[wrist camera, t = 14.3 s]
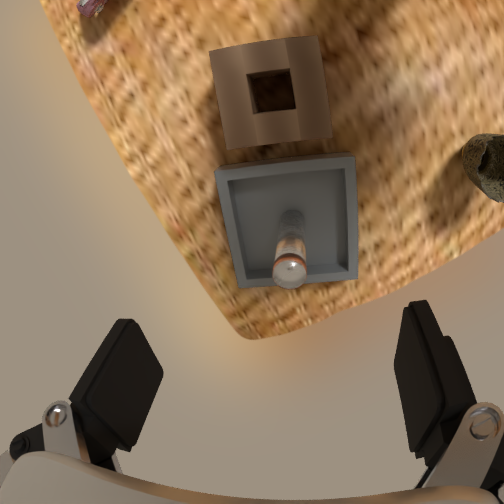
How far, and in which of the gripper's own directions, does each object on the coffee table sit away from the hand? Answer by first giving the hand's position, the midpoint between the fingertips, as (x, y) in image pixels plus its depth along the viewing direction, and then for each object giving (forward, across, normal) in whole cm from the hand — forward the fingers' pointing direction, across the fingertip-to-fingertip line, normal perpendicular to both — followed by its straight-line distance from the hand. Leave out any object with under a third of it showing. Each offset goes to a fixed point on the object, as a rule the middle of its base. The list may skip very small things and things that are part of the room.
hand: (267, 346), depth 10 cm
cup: (+28, -24, 0) cm, 36 cm away
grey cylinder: (+26, 0, +7) cm, 27 cm away
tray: (+27, 0, +7) cm, 28 cm away
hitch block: (+27, 0, -8) cm, 29 cm away
